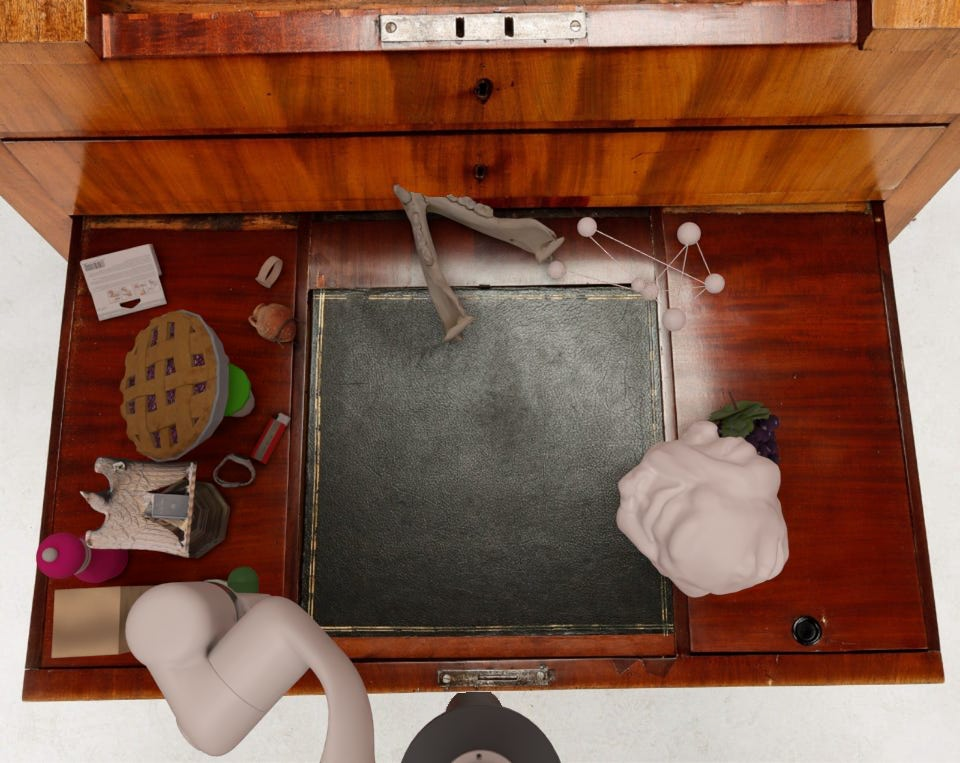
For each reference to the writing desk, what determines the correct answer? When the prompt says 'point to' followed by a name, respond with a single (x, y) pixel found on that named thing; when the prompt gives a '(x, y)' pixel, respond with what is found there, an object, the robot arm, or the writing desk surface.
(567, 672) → the writing desk surface
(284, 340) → the pot
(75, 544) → the pepper mill
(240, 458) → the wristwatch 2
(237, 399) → the cup
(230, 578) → the cucumber
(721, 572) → the head sculpture
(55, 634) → the oak stand
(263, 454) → the lighter
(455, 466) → the writing desk surface
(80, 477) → the writing desk surface
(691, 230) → the molecule model
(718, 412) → the fruit
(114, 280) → the ink cartridge box
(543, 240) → the jawbone
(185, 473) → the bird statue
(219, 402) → the pie
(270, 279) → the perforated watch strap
